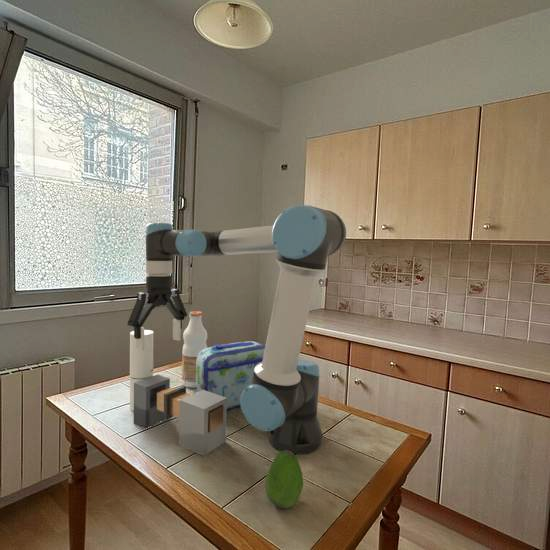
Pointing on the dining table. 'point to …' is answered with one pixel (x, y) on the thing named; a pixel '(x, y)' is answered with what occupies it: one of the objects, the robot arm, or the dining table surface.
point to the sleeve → (201, 422)
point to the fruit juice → (192, 348)
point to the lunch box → (228, 369)
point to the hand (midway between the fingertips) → (159, 344)
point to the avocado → (284, 480)
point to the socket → (148, 400)
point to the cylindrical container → (140, 362)
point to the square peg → (171, 406)
